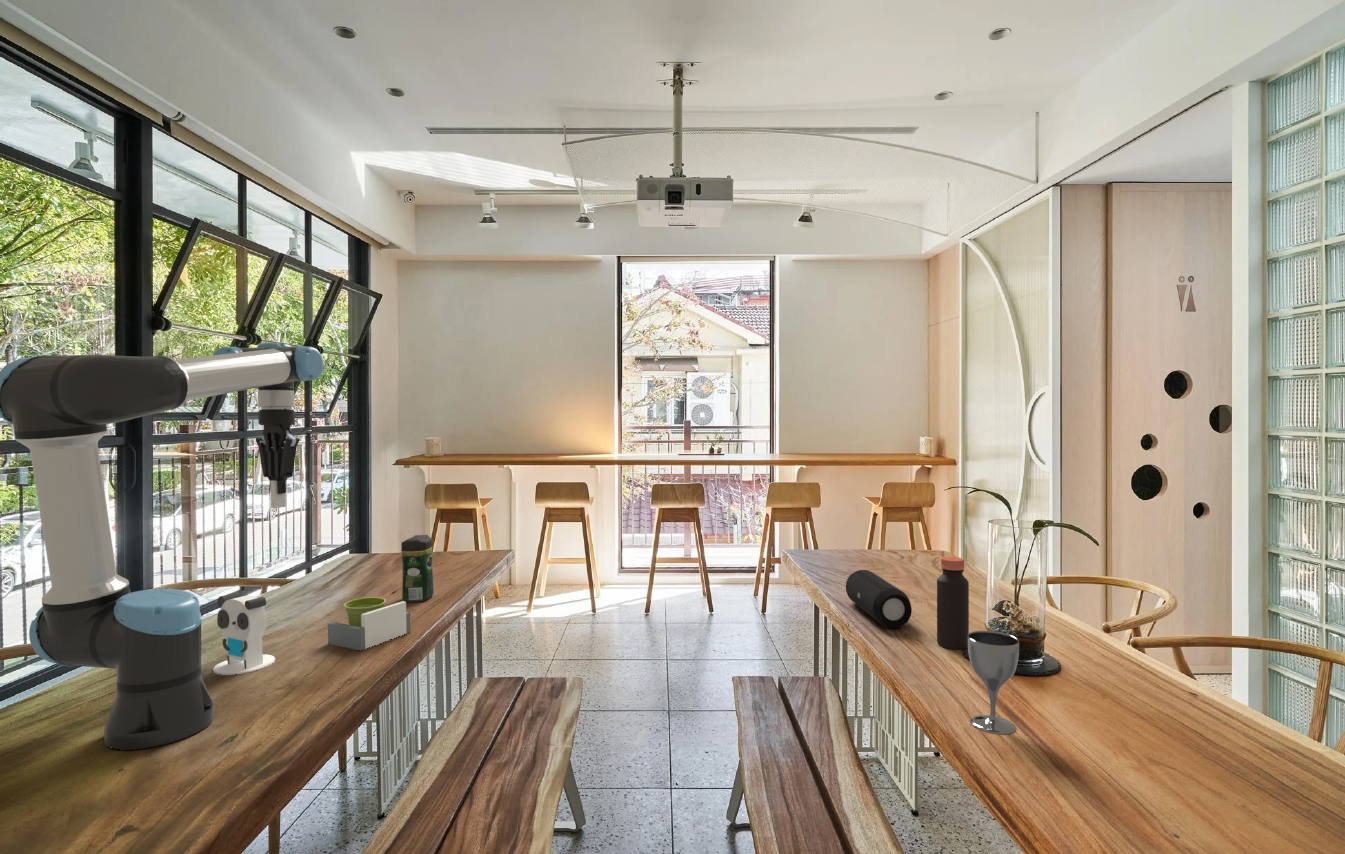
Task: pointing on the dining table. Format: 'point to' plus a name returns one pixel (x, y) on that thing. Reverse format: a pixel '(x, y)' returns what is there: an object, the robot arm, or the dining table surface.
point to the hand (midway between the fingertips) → (278, 507)
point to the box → (371, 628)
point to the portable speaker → (879, 598)
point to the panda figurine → (242, 634)
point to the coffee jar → (417, 568)
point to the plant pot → (362, 608)
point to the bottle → (952, 605)
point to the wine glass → (993, 672)
